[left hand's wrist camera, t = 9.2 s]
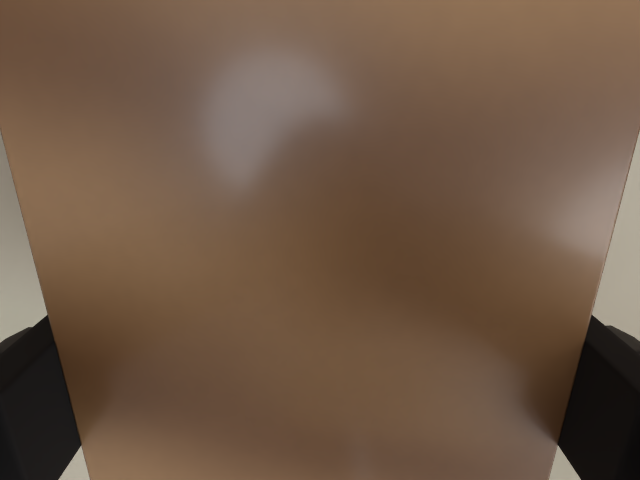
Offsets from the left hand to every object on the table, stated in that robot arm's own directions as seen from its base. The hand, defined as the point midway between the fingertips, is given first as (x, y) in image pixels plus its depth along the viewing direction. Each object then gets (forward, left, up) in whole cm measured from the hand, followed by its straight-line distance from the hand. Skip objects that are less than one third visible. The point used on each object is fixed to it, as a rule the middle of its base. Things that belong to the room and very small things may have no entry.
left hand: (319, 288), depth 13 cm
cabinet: (+5, -4, -5) cm, 8 cm away
